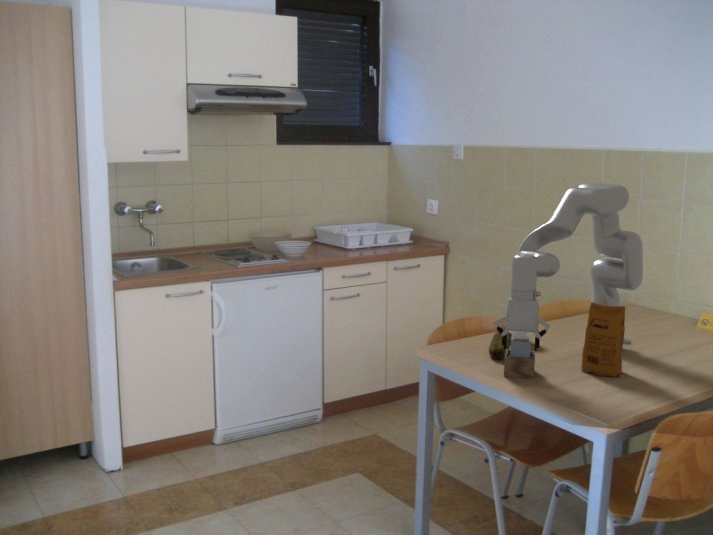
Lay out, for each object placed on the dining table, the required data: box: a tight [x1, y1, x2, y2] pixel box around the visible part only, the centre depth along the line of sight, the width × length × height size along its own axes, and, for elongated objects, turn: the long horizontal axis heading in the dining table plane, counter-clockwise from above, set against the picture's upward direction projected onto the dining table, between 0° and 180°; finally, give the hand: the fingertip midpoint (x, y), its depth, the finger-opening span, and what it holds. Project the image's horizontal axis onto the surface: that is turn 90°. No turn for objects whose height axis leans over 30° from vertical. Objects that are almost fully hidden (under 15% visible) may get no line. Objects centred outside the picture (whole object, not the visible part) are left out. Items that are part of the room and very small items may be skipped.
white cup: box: [509, 330, 530, 337], centre depth 269 cm, size 8×8×10 cm
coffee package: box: [580, 301, 626, 378], centre depth 234 cm, size 10×12×22 cm
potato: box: [488, 330, 512, 360], centre depth 251 cm, size 8×13×8 cm, turn 139°
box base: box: [503, 348, 536, 380], centre depth 232 cm, size 9×9×6 cm
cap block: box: [509, 336, 532, 359], centre depth 232 cm, size 6×6×6 cm
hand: (520, 348), depth 232 cm, fingers open, 9 cm apart
